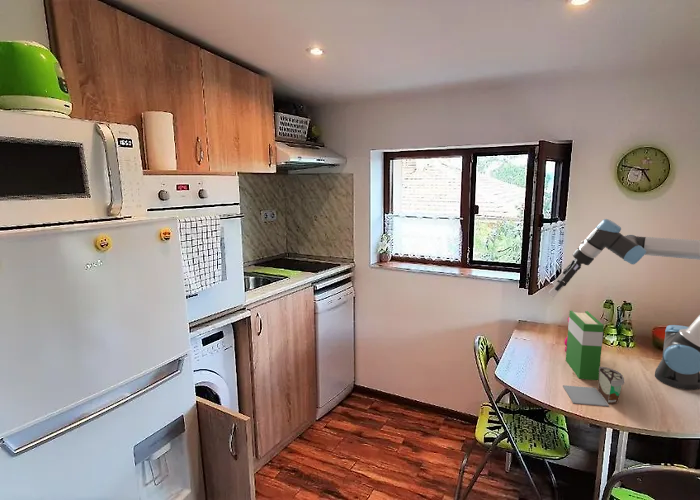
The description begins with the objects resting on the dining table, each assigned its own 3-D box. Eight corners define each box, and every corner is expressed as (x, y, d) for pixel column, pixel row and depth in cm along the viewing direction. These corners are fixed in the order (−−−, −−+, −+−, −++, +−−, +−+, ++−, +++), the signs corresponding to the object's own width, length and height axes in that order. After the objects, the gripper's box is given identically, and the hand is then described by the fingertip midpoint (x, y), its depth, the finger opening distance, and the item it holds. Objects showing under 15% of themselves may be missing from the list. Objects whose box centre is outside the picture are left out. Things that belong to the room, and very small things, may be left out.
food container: (628, 407, 150) (631, 382, 148) (609, 406, 151) (612, 381, 149) (614, 390, 162) (616, 367, 160) (596, 389, 163) (599, 365, 161)
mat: (595, 388, 163) (595, 387, 163) (608, 406, 151) (608, 405, 151) (562, 386, 166) (562, 385, 166) (573, 403, 153) (573, 402, 153)
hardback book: (565, 360, 188) (569, 310, 184) (583, 361, 187) (587, 311, 183) (579, 378, 171) (583, 324, 167) (598, 380, 170) (603, 325, 166)
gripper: (580, 241, 181) (549, 277, 191) (576, 254, 161) (541, 293, 171) (596, 251, 179) (563, 287, 189) (593, 265, 158) (557, 304, 168)
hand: (553, 290), depth 180 cm, fingers open, 13 cm apart
